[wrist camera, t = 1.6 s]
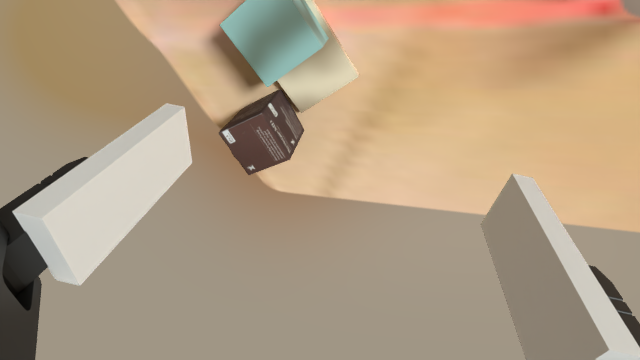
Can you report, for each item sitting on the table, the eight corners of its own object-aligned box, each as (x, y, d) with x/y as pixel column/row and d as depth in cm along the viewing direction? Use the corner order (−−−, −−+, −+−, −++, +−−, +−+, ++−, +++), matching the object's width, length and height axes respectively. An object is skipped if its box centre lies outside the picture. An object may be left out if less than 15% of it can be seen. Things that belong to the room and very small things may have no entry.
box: (305, 130, 40) (291, 160, 34) (267, 146, 43) (248, 176, 37) (281, 87, 37) (261, 112, 32) (241, 106, 40) (216, 133, 34)
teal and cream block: (236, 19, 34) (216, 28, 30) (293, -33, 30) (278, -31, 26) (303, 109, 38) (293, 127, 34) (359, 74, 35) (355, 89, 31)
